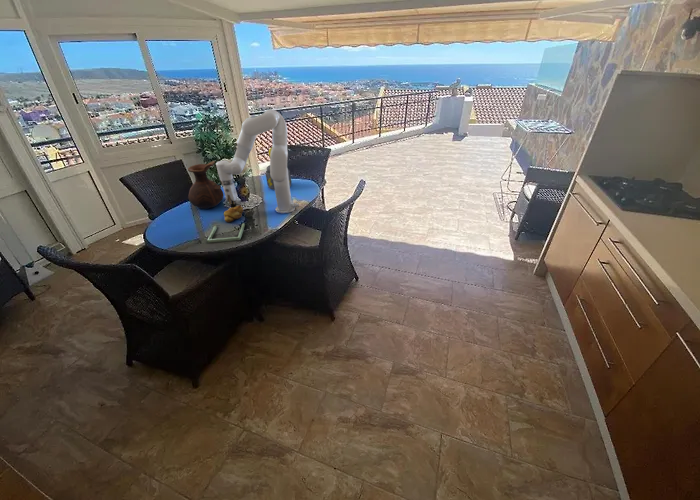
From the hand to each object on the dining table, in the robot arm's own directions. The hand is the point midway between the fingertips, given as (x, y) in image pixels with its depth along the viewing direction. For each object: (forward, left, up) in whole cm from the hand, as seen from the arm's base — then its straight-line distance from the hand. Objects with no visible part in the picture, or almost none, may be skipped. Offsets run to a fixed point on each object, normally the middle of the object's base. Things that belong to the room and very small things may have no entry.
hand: (234, 209), depth 188 cm
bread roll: (0, +8, -3) cm, 9 cm away
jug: (+20, -17, -3) cm, 27 cm away
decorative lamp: (-26, -44, -3) cm, 51 cm away
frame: (0, +26, -3) cm, 26 cm away
